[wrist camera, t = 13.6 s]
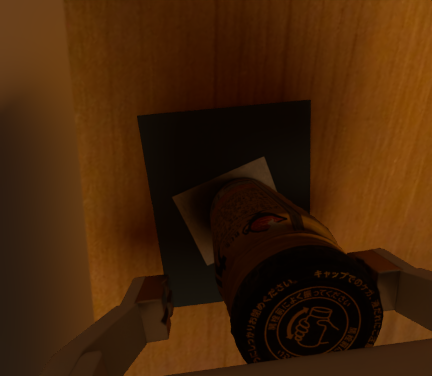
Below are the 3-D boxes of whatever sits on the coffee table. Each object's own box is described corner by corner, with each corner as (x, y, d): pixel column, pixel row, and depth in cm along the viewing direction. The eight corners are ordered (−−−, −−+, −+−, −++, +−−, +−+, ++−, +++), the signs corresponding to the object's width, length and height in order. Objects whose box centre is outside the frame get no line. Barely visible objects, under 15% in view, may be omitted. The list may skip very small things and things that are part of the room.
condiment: (290, 228, 19) (430, 367, 7) (206, 264, 19) (211, 452, 8) (263, 156, 17) (385, 183, 6) (172, 196, 18) (110, 301, 6)
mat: (139, 116, 17) (136, 115, 16) (306, 101, 17) (310, 99, 17) (171, 302, 21) (169, 308, 20) (305, 285, 21) (309, 290, 21)
